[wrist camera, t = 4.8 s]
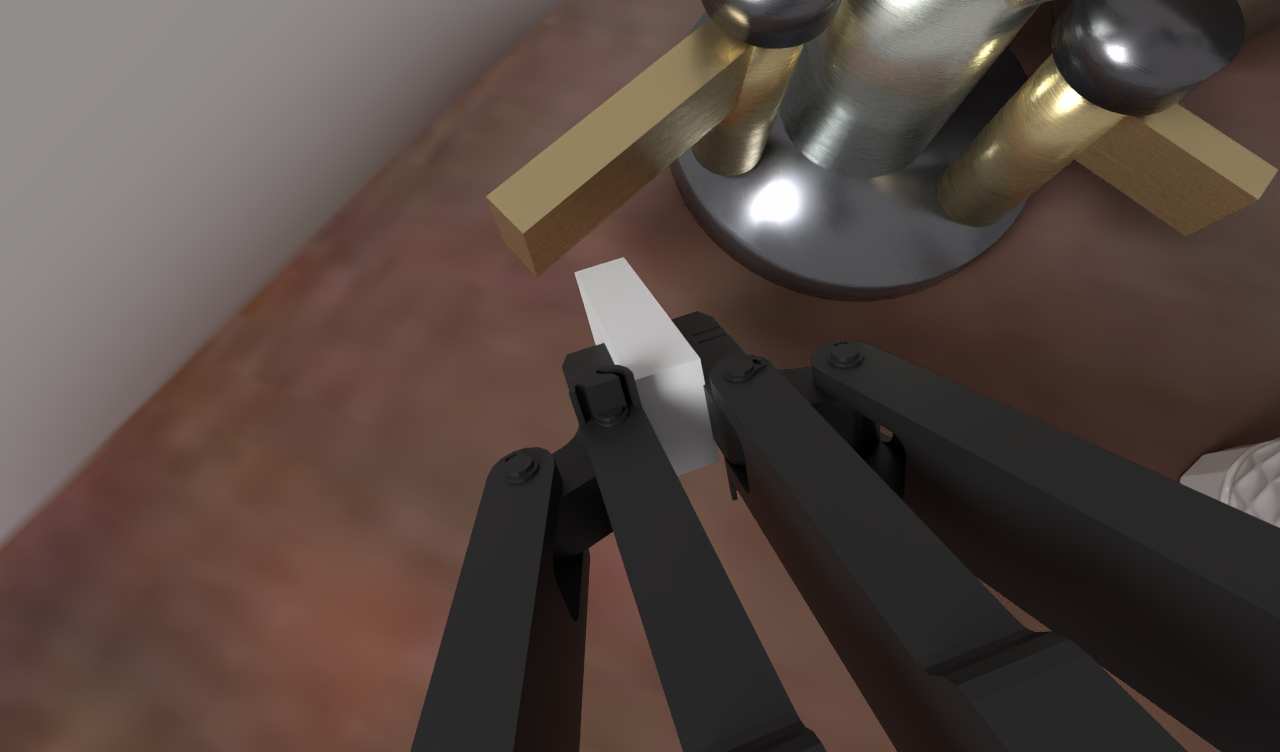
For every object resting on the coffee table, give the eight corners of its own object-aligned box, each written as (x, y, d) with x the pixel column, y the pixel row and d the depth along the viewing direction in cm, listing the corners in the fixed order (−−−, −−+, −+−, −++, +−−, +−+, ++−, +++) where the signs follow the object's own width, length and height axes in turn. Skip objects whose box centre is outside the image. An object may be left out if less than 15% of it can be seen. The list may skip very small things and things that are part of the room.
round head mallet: (725, 83, 27) (778, -141, 18) (797, 146, 26) (890, -55, 17) (501, 268, 24) (432, 116, 15) (575, 343, 24) (547, 230, 15)
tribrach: (900, -73, 32) (1134, -573, 18) (1103, 288, 27) (1662, 12, 13) (603, 2, 31) (587, -487, 16) (764, 403, 26) (958, 238, 11)
